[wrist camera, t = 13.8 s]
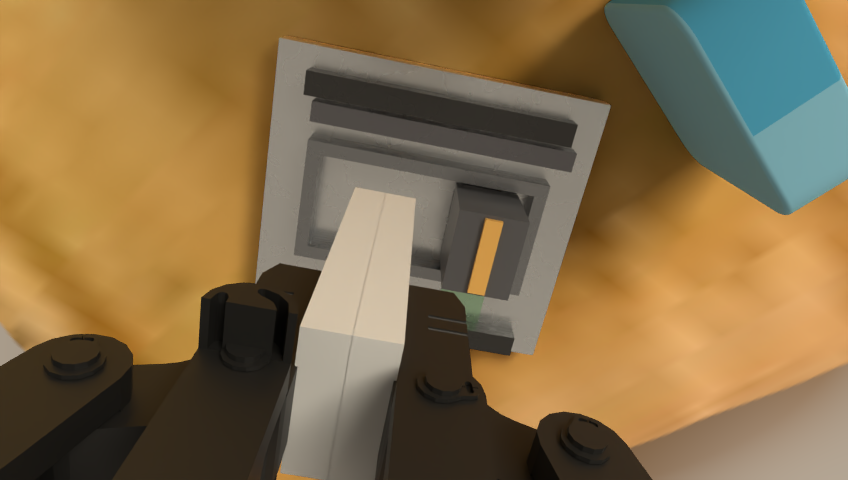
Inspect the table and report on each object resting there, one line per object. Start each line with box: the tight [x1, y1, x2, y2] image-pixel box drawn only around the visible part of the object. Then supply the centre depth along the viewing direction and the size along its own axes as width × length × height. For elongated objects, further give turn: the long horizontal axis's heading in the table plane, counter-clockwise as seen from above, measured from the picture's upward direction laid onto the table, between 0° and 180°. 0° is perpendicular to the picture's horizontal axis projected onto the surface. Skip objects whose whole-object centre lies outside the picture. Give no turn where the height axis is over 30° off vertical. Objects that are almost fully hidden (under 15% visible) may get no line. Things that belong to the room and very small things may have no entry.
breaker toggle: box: [440, 183, 530, 301], centre depth 36 cm, size 5×4×5 cm
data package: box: [604, 0, 848, 215], centre depth 31 cm, size 12×4×12 cm, turn 38°
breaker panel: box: [255, 36, 611, 356], centre depth 38 cm, size 18×20×4 cm
